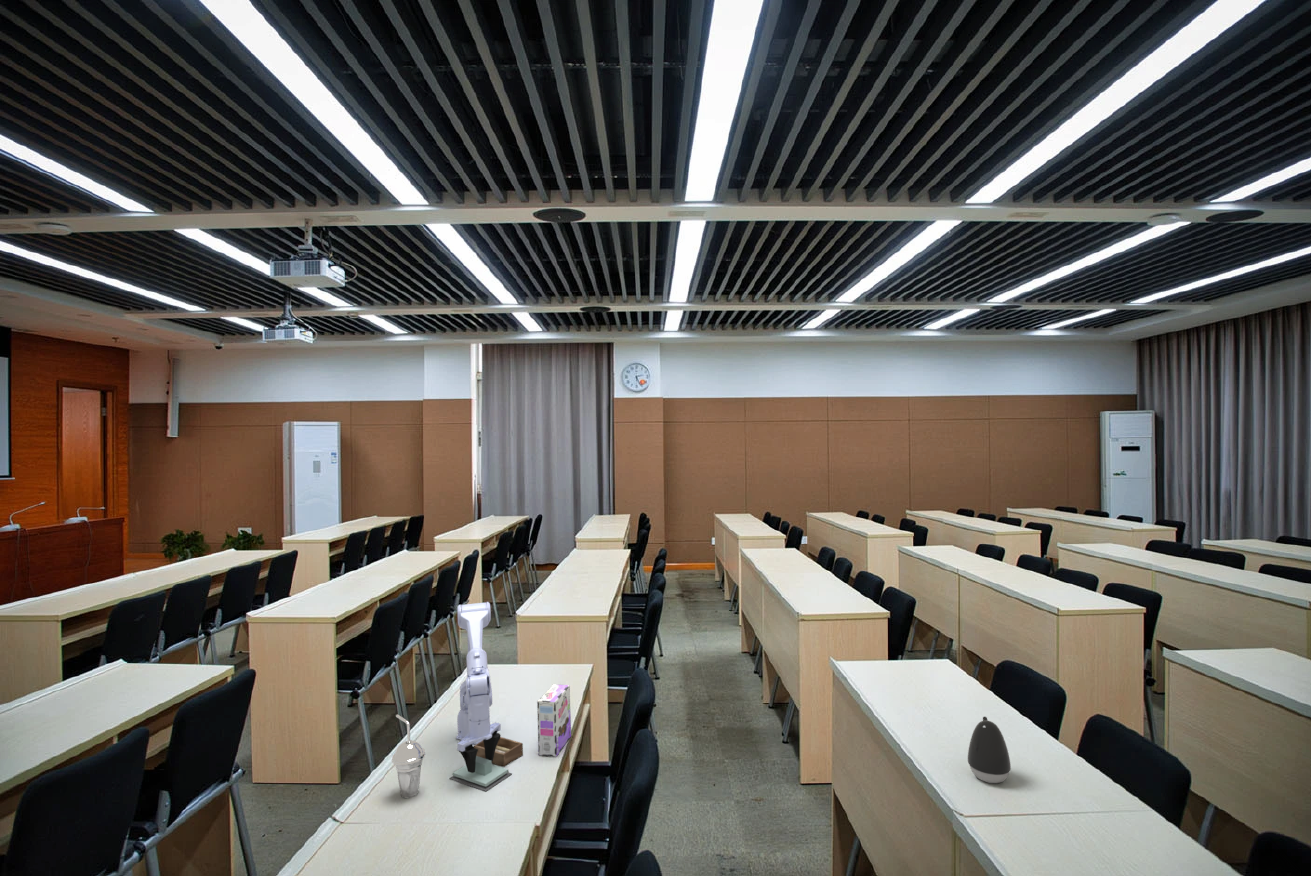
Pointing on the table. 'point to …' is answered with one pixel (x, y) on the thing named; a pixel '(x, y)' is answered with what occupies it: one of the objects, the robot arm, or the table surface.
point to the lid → (481, 772)
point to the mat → (481, 785)
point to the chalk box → (502, 751)
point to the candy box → (554, 720)
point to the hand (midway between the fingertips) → (480, 766)
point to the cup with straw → (408, 764)
